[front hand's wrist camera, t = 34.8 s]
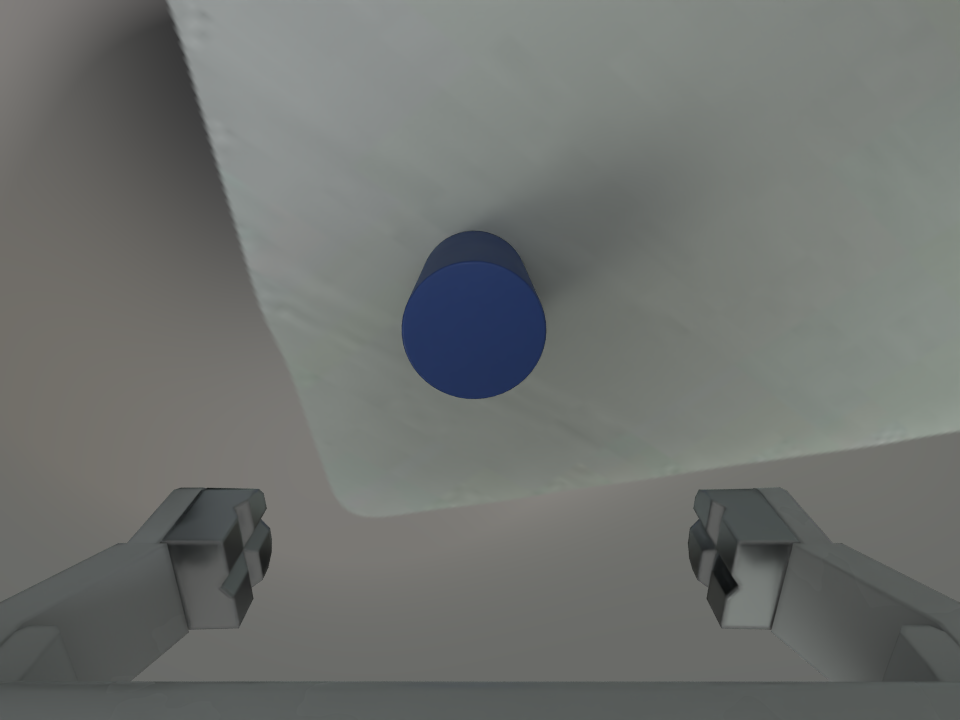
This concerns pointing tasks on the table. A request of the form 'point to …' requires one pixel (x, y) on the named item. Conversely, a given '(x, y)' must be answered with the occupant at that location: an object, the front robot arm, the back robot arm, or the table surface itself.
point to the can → (474, 318)
